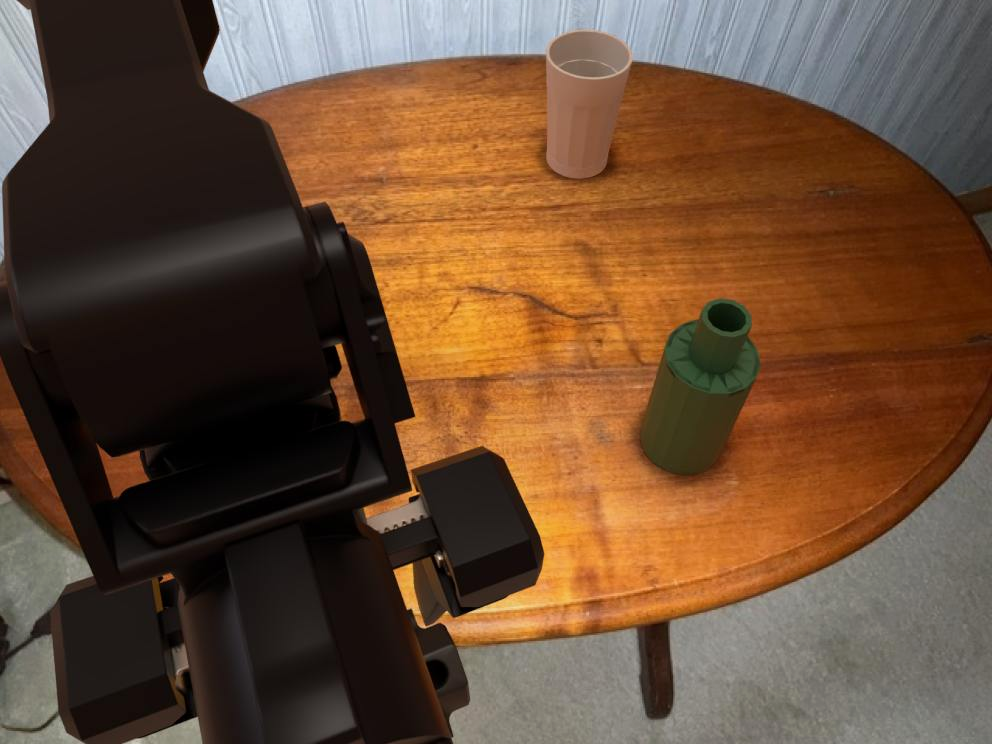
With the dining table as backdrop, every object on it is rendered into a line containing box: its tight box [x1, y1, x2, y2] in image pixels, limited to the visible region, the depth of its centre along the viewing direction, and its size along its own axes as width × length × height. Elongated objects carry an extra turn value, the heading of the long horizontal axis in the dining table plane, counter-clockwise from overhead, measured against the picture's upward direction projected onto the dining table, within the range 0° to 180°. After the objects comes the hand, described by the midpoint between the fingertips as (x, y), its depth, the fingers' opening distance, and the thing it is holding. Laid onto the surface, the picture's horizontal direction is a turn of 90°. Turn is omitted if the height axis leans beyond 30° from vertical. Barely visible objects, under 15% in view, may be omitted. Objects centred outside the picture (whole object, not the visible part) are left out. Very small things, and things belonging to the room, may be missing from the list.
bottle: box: [639, 297, 761, 476], centre depth 59 cm, size 6×6×15 cm
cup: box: [545, 29, 634, 180], centre depth 80 cm, size 8×8×12 cm
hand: (336, 650), depth 40 cm, fingers open, 9 cm apart
